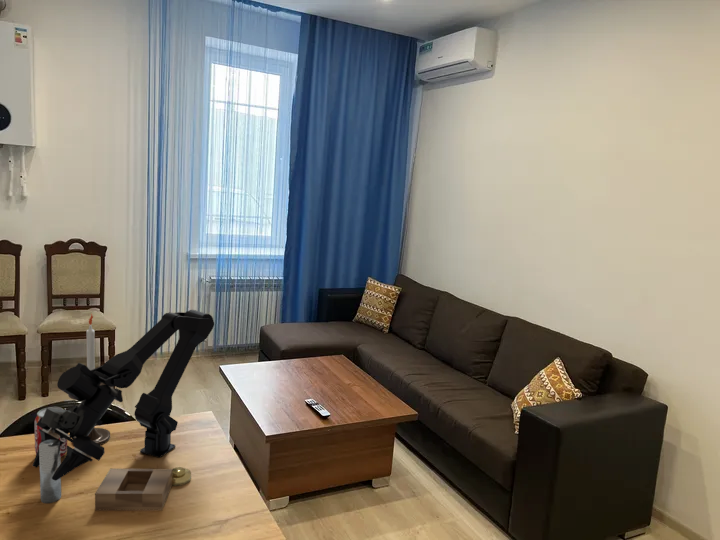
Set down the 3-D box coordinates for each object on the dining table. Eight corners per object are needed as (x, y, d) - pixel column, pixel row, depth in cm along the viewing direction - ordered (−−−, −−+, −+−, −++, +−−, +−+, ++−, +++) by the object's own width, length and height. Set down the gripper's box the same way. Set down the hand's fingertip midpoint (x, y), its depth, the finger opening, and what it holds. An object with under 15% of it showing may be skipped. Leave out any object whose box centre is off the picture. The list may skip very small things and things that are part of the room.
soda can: (53, 465, 134) (52, 420, 132) (28, 460, 136) (26, 415, 133) (73, 451, 141) (73, 408, 139) (49, 447, 142) (48, 403, 140)
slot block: (110, 484, 129) (110, 468, 128) (172, 484, 130) (172, 469, 130) (95, 510, 119) (94, 493, 118) (162, 510, 121) (162, 493, 120)
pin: (51, 490, 124) (50, 437, 122) (65, 495, 123) (64, 441, 121) (36, 500, 121) (34, 445, 118) (50, 505, 119) (48, 450, 117)
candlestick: (121, 440, 149) (120, 315, 142) (79, 453, 140) (77, 321, 134) (103, 425, 156) (102, 306, 149) (62, 437, 147) (59, 311, 141)
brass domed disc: (175, 469, 136) (175, 461, 136) (196, 475, 135) (196, 467, 134) (159, 482, 131) (159, 473, 130) (180, 488, 129) (181, 479, 129)
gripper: (44, 382, 126) (-7, 444, 119) (91, 406, 116) (38, 475, 109) (77, 403, 134) (32, 463, 127) (124, 427, 124) (77, 493, 117)
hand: (43, 473), depth 120 cm, fingers open, 8 cm apart
